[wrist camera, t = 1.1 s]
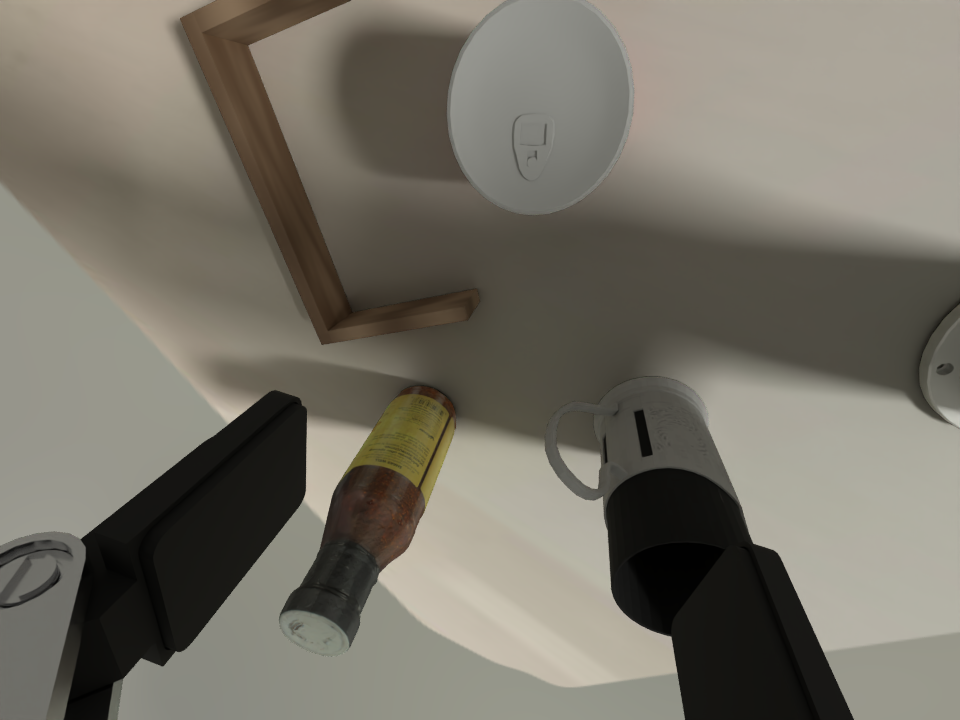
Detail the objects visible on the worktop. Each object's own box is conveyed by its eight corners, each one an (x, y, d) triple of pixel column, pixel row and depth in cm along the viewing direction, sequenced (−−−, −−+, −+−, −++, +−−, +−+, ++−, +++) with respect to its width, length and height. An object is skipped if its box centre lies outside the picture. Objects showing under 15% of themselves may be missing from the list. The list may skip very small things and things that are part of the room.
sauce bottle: (382, 391, 39) (225, 591, 22) (442, 374, 37) (320, 581, 20) (413, 448, 42) (293, 669, 24) (472, 435, 39) (385, 668, 22)
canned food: (508, 203, 30) (472, 234, 20) (478, 69, 27) (418, 31, 17) (624, 172, 27) (647, 192, 18) (607, 22, 24) (622, -52, 15)
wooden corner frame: (390, -41, 25) (359, -70, 22) (480, 300, 33) (468, 320, 30) (228, 32, 29) (179, 18, 25) (346, 325, 37) (321, 344, 33)
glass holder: (645, 482, 38) (678, 665, 25) (522, 382, 36) (487, 523, 23) (734, 425, 34) (829, 608, 21) (599, 308, 32) (610, 428, 19)
